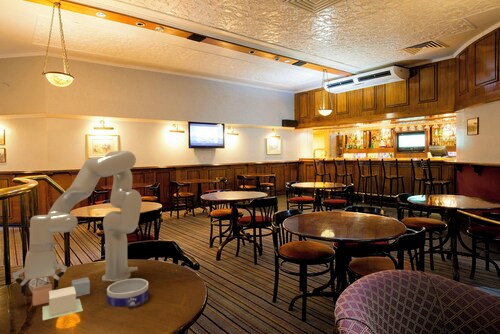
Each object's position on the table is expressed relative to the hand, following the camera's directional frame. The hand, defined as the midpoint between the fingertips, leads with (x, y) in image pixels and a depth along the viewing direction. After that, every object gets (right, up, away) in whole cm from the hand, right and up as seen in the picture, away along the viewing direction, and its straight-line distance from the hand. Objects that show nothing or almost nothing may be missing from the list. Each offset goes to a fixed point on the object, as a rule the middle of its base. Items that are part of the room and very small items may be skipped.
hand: (40, 292), depth 117 cm
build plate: (+12, -5, -6) cm, 14 cm away
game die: (-7, -5, +10) cm, 13 cm away
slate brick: (+11, -5, +8) cm, 15 cm away
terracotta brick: (0, -5, +1) cm, 5 cm away
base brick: (+12, -4, -6) cm, 14 cm away
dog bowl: (+33, -5, +3) cm, 33 cm away
